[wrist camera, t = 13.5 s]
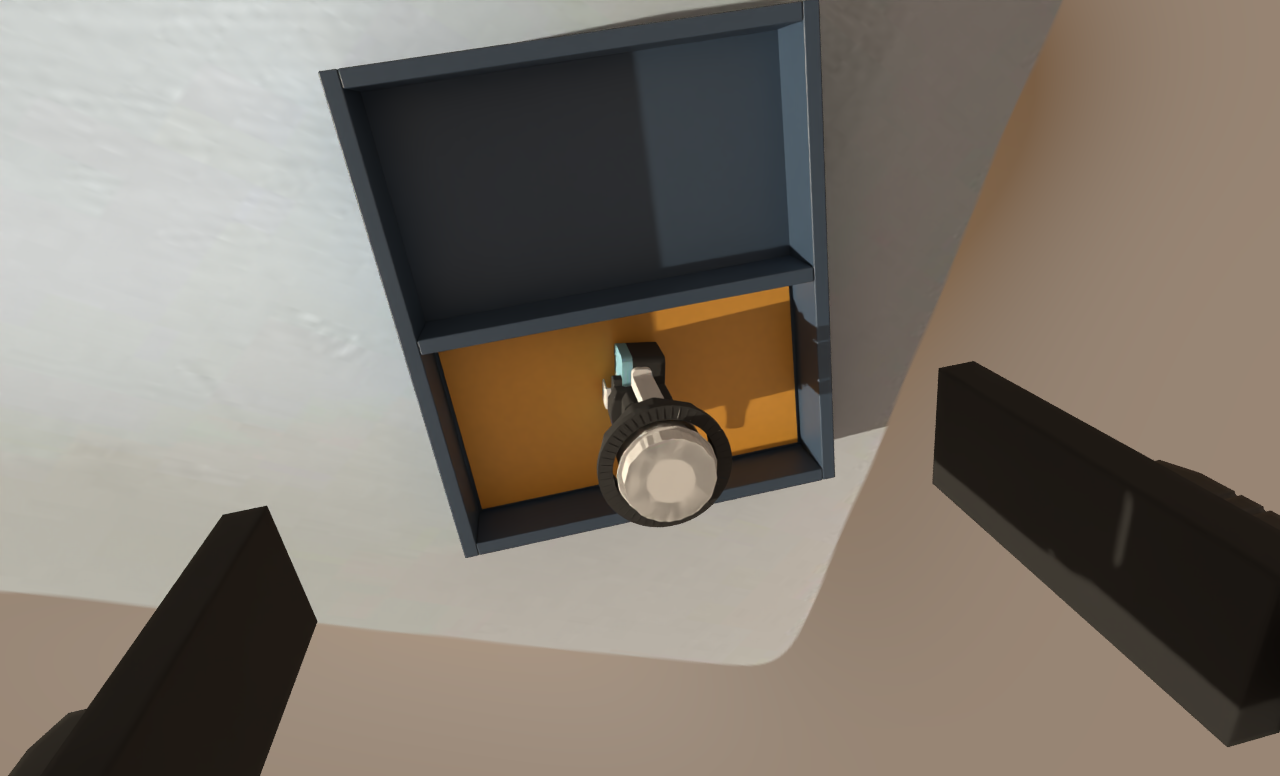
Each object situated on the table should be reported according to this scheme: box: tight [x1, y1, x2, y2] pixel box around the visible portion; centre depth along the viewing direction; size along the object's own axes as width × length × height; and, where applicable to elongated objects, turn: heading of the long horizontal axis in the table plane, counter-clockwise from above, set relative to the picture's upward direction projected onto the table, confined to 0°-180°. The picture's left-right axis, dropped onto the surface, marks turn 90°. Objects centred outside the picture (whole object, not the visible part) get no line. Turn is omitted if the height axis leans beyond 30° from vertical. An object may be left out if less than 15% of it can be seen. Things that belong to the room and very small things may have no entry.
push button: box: [597, 342, 732, 527], centre depth 30 cm, size 7×5×10 cm
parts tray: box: [318, 0, 835, 558], centre depth 31 cm, size 19×22×4 cm
